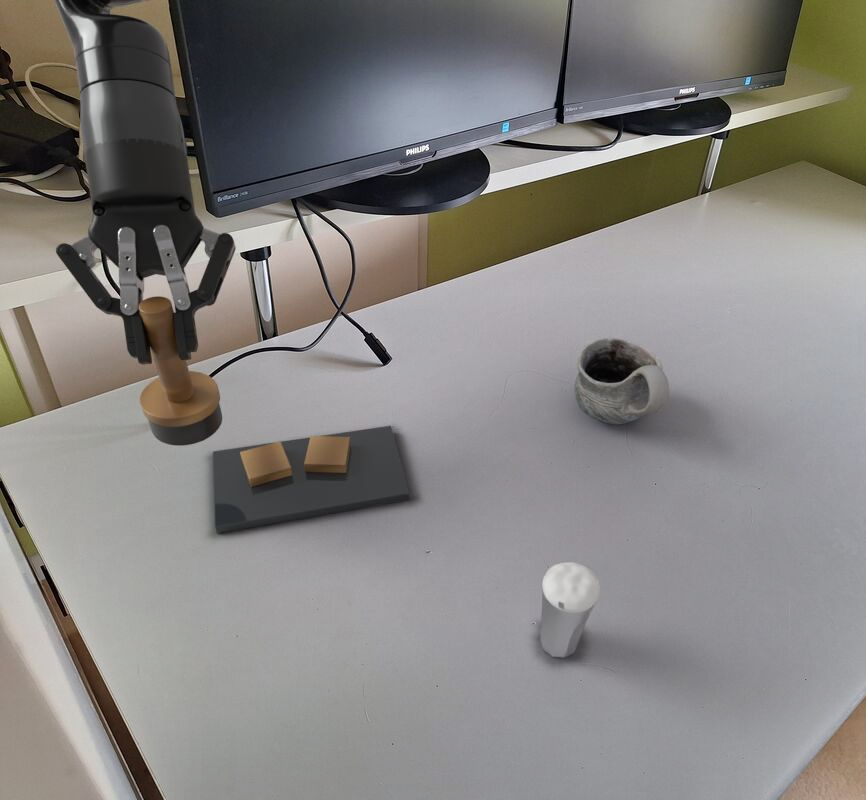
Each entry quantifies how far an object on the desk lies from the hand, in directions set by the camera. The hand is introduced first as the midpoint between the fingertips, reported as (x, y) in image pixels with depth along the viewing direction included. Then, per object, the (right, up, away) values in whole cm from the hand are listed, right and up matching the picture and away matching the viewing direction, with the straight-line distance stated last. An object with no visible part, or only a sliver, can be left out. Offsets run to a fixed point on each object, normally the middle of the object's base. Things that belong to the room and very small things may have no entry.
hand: (165, 360), depth 62 cm
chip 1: (+3, -10, +14) cm, 17 cm away
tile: (+8, -11, +15) cm, 20 cm away
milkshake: (+32, -25, +3) cm, 41 cm away
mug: (+40, -5, +27) cm, 48 cm away
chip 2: (+9, -9, +16) cm, 20 cm away
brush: (-2, -5, +7) cm, 9 cm away
